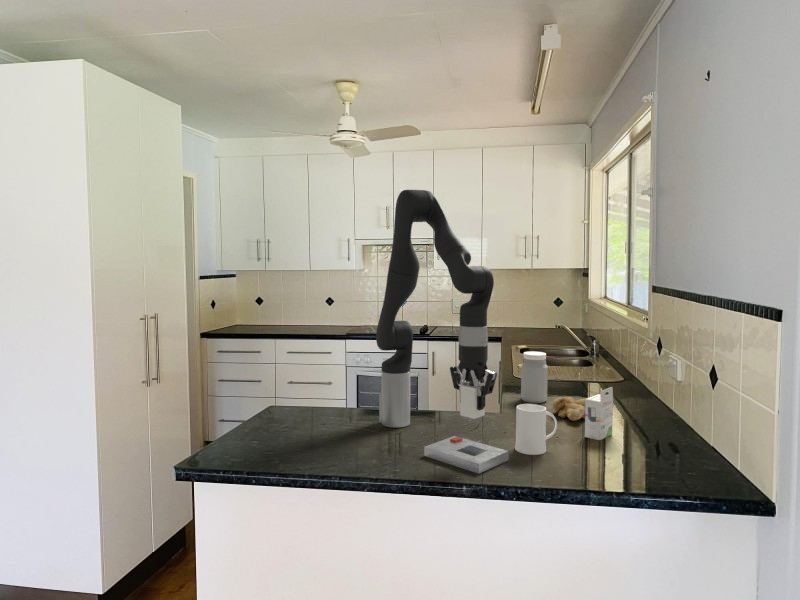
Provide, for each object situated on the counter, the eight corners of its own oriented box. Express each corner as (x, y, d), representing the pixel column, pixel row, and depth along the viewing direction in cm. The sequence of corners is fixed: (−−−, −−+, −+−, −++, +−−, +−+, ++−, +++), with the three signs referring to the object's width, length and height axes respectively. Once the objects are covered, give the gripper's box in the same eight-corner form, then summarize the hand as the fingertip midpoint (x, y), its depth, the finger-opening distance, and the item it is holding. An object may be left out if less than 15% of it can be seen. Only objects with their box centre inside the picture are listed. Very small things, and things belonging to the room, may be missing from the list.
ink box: (597, 431, 171) (598, 383, 170) (612, 434, 167) (614, 386, 166) (583, 437, 165) (584, 388, 164) (599, 441, 161) (600, 391, 160)
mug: (552, 444, 158) (553, 403, 158) (562, 454, 150) (563, 411, 149) (511, 444, 158) (512, 403, 157) (519, 455, 149) (519, 411, 149)
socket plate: (424, 455, 149) (424, 444, 149) (454, 444, 158) (454, 433, 158) (479, 473, 136) (479, 461, 136) (508, 460, 146) (508, 448, 145)
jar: (552, 401, 207) (553, 353, 206) (534, 405, 202) (535, 356, 200) (532, 396, 215) (533, 350, 214) (515, 399, 210) (515, 352, 208)
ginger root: (566, 403, 199) (570, 383, 196) (602, 424, 186) (608, 403, 184) (535, 411, 190) (540, 390, 188) (571, 434, 178) (576, 412, 175)
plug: (460, 415, 145) (460, 376, 144) (470, 412, 148) (471, 373, 147) (474, 418, 142) (474, 378, 141) (484, 415, 145) (485, 376, 144)
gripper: (442, 341, 146) (442, 405, 147) (487, 347, 136) (486, 415, 137) (460, 339, 151) (459, 400, 152) (504, 344, 141) (503, 410, 143)
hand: (472, 407), depth 145 cm, fingers closed on plug, 4 cm apart
